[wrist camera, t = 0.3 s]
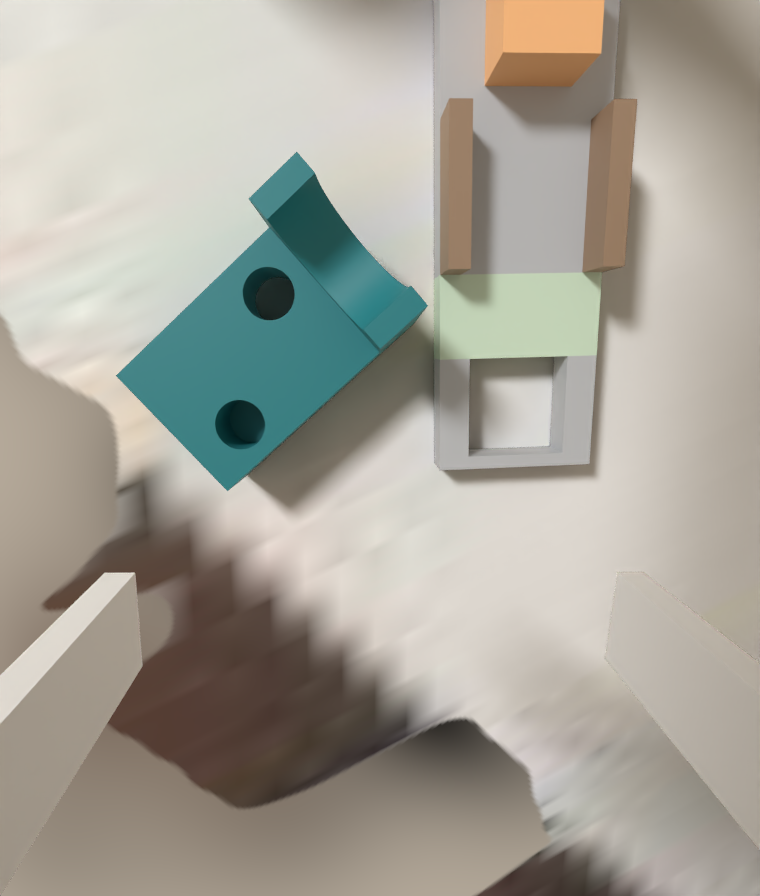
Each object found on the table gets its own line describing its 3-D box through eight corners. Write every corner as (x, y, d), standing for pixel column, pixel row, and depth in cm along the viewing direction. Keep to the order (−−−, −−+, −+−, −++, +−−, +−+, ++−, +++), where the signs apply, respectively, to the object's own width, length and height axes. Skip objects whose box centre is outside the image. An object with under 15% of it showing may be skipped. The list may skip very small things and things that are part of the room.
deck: (433, -12, 34) (449, -78, 29) (603, -9, 35) (650, -73, 30) (434, 462, 41) (447, 480, 36) (575, 456, 42) (608, 473, 37)
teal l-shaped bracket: (318, 213, 37) (296, 151, 27) (413, 323, 38) (427, 305, 28) (149, 375, 39) (67, 376, 29) (245, 476, 40) (201, 511, 30)
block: (486, -20, 32) (505, -69, 28) (576, -18, 32) (608, -67, 29) (484, 86, 33) (503, 52, 29) (571, 86, 34) (601, 53, 30)
